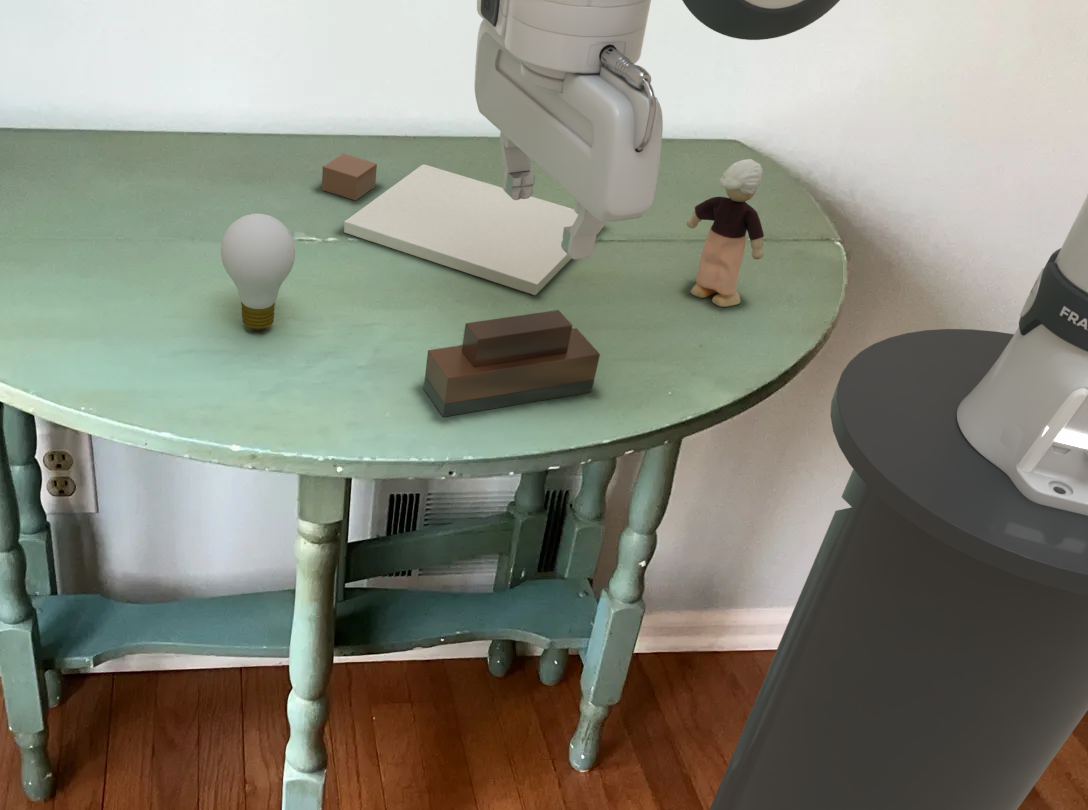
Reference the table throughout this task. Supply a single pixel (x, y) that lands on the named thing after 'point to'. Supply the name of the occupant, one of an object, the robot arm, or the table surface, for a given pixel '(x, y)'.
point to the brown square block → (349, 176)
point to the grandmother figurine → (728, 233)
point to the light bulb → (258, 264)
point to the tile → (468, 228)
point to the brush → (511, 364)
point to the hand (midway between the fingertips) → (545, 223)
